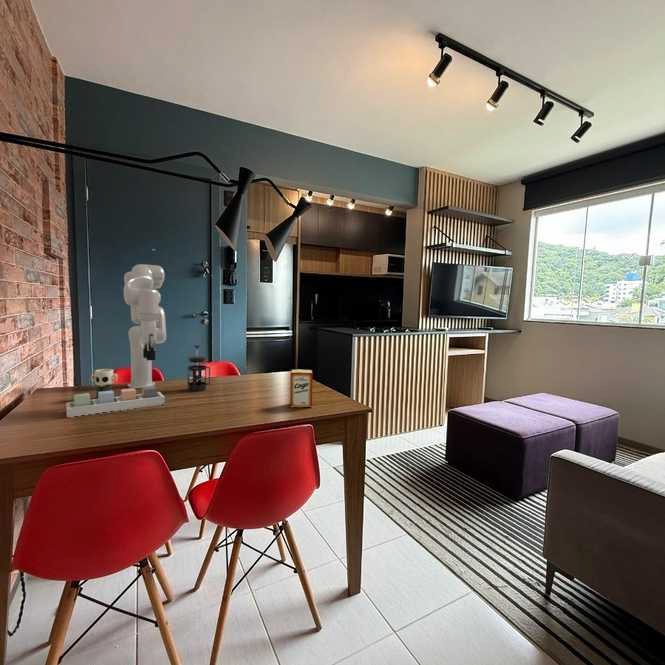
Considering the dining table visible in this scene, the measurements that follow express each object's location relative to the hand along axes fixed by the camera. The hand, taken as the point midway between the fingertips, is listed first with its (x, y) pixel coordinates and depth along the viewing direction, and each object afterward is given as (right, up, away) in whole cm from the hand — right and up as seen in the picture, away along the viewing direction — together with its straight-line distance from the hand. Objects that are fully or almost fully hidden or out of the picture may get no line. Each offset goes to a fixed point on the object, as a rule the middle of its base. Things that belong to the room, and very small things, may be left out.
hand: (149, 358), depth 152 cm
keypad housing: (-10, -20, -6) cm, 23 cm away
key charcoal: (0, -17, +1) cm, 17 cm away
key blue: (-13, -17, -9) cm, 23 cm away
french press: (+11, -18, +28) cm, 35 cm away
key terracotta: (-7, -17, -4) cm, 19 cm away
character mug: (-24, -19, +7) cm, 31 cm away
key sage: (-19, -17, -13) cm, 29 cm away
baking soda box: (+65, -22, +5) cm, 69 cm away
